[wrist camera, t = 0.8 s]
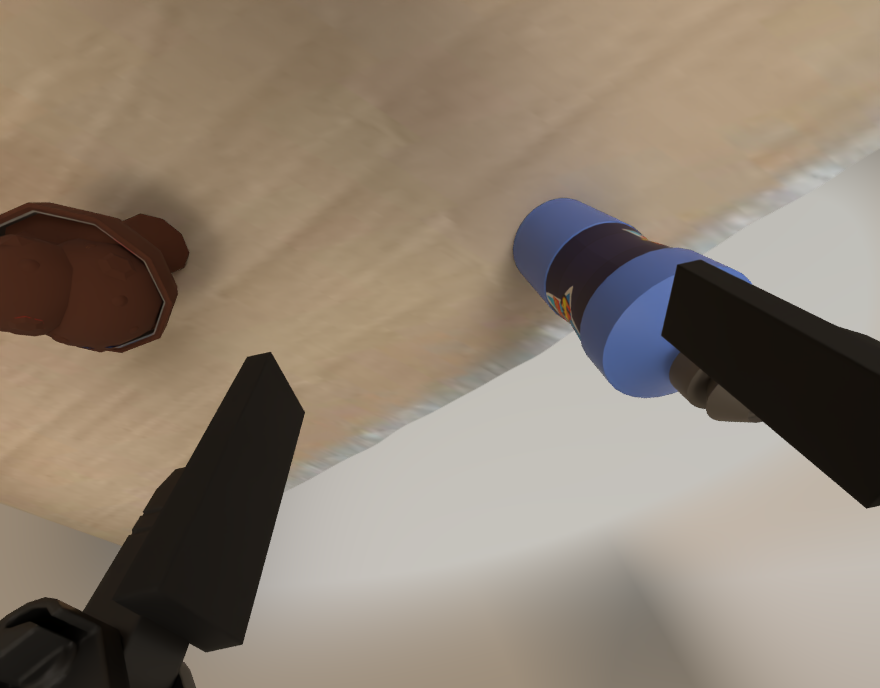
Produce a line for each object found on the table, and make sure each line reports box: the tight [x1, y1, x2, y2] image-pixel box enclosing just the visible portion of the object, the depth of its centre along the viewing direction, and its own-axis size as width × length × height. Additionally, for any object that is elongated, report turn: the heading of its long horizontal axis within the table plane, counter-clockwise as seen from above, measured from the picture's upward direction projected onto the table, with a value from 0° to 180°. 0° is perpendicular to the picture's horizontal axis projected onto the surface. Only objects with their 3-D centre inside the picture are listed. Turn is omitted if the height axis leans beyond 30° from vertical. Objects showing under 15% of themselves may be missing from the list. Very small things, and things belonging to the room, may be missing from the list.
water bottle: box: [513, 198, 763, 423], centre depth 27 cm, size 9×9×25 cm
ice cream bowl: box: [0, 203, 189, 353], centre depth 26 cm, size 11×11×15 cm
